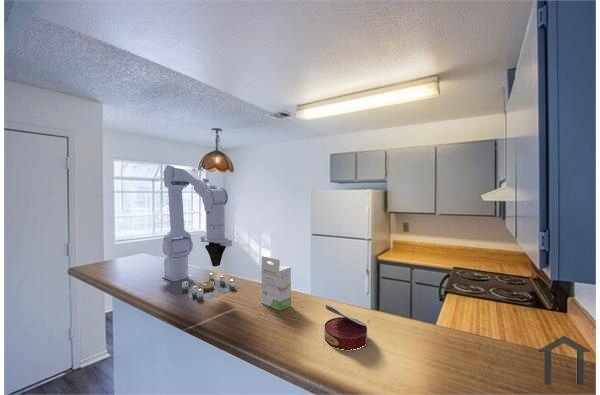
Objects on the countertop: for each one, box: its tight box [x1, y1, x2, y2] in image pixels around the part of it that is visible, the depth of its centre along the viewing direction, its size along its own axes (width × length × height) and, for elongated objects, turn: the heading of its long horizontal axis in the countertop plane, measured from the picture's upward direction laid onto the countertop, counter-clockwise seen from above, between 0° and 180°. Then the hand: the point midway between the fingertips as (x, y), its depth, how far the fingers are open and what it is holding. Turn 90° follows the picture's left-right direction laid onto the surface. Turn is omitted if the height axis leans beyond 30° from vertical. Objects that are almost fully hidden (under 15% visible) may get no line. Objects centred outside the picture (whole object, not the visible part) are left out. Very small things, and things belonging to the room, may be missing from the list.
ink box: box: [260, 255, 292, 312], centre depth 86 cm, size 9×5×15 cm, turn 47°
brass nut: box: [198, 280, 214, 291], centre depth 98 cm, size 5×5×2 cm
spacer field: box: [174, 272, 241, 303], centre depth 98 cm, size 15×16×4 cm
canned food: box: [324, 304, 368, 351], centre depth 67 cm, size 11×10×10 cm
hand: (216, 265), depth 94 cm, fingers closed
